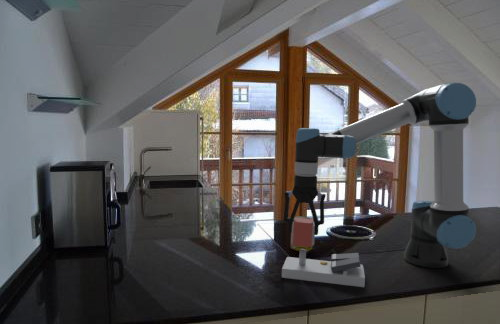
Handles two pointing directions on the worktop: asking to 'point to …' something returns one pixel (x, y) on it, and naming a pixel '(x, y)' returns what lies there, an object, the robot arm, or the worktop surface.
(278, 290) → the worktop surface
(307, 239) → the red rectangular block
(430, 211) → the robot arm
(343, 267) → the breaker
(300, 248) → the beverage can
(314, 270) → the panel
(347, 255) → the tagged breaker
